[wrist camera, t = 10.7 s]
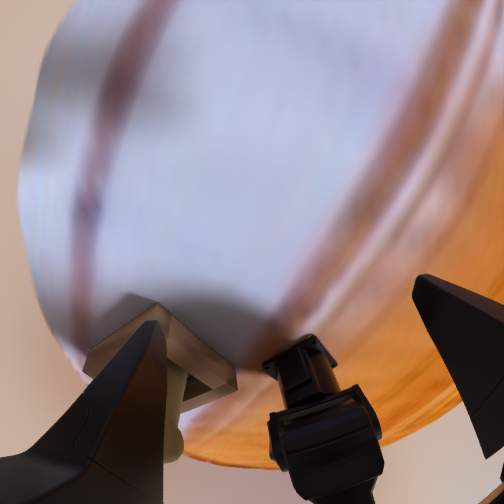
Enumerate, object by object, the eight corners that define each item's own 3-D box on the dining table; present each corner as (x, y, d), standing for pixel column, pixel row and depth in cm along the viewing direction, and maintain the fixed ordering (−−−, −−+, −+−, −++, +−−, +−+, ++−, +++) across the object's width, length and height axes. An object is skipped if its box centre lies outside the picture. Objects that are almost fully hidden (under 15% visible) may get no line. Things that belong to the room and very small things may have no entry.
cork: (192, 345, 25) (191, 451, 15) (187, 381, 27) (188, 472, 18) (130, 336, 24) (107, 438, 14) (133, 373, 26) (120, 463, 16)
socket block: (235, 367, 27) (237, 390, 24) (162, 400, 29) (161, 420, 26) (157, 302, 22) (152, 326, 19) (89, 350, 24) (82, 371, 21)
